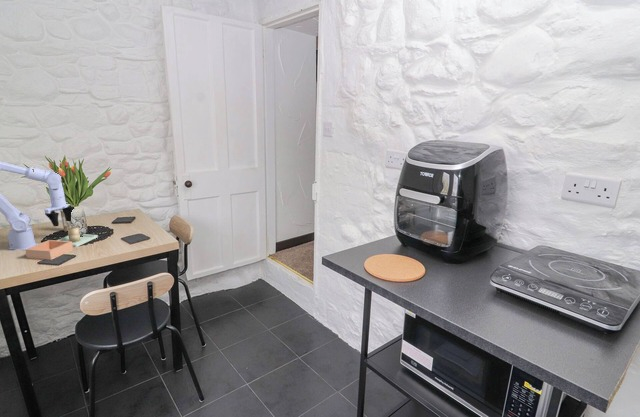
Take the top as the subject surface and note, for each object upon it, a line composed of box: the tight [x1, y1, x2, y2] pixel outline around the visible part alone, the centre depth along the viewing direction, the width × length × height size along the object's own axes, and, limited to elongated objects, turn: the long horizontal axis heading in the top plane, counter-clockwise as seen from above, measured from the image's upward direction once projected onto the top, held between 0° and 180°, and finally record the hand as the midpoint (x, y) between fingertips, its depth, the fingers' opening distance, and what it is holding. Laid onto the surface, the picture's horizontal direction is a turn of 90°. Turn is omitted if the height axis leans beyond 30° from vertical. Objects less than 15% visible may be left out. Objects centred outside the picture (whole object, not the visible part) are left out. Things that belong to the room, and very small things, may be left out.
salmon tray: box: [24, 239, 74, 261], centre depth 159 cm, size 12×12×4 cm
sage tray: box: [56, 233, 99, 248], centre depth 175 cm, size 14×14×2 cm
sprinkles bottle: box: [59, 209, 68, 233], centre depth 190 cm, size 5×5×13 cm
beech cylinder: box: [67, 226, 81, 242], centre depth 174 cm, size 5×5×6 cm
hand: (62, 223), depth 174 cm, fingers open, 7 cm apart
